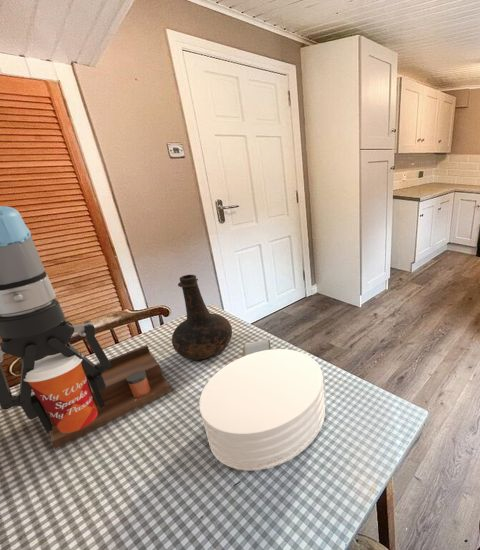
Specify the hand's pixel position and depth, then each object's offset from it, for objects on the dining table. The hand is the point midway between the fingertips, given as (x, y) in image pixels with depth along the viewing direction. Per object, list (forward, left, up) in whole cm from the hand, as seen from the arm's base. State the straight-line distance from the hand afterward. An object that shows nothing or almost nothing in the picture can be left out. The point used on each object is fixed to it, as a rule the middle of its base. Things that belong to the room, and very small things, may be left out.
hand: (76, 414), depth 57 cm
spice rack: (-15, +20, -18) cm, 31 cm away
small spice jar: (-7, +21, -15) cm, 27 cm away
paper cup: (0, 0, -2) cm, 2 cm away
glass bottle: (-2, +44, -18) cm, 47 cm away
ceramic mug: (+19, +37, -18) cm, 45 cm away
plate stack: (+29, +16, -18) cm, 38 cm away
